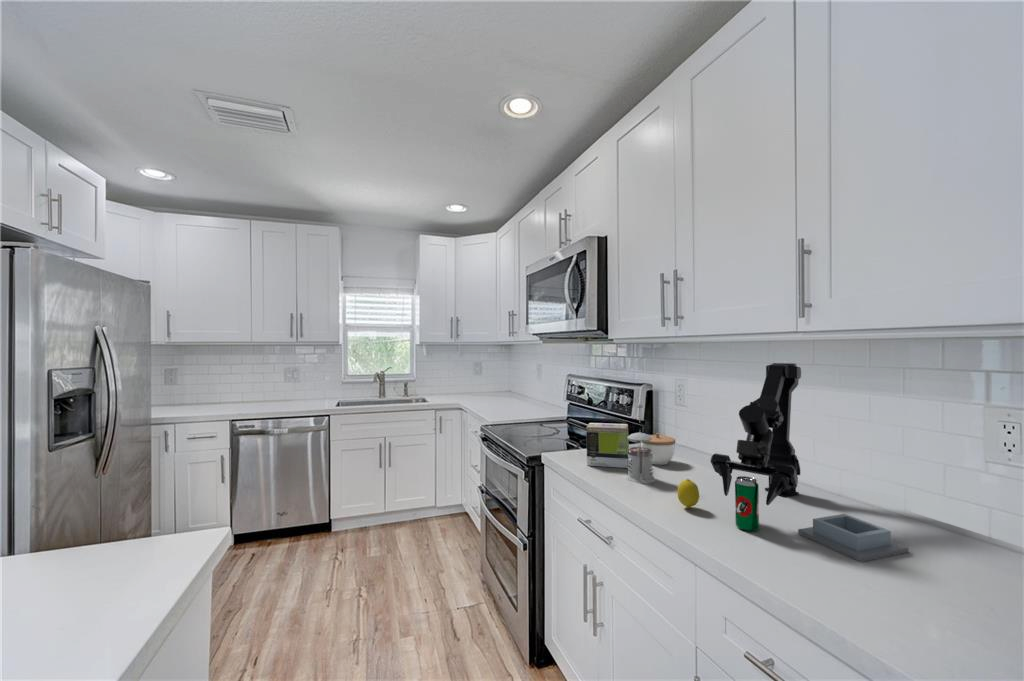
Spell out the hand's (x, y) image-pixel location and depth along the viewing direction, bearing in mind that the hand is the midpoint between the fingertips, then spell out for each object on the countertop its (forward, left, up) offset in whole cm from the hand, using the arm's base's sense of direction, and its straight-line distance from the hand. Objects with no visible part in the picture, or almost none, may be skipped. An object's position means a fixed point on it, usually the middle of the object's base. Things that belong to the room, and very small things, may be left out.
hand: (745, 499), depth 104 cm
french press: (-41, -2, -7) cm, 42 cm away
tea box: (-61, -3, -7) cm, 62 cm away
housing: (+13, +17, -7) cm, 22 cm away
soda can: (0, +1, -7) cm, 7 cm away
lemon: (-15, -4, -7) cm, 18 cm away
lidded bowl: (-57, +16, -7) cm, 60 cm away
